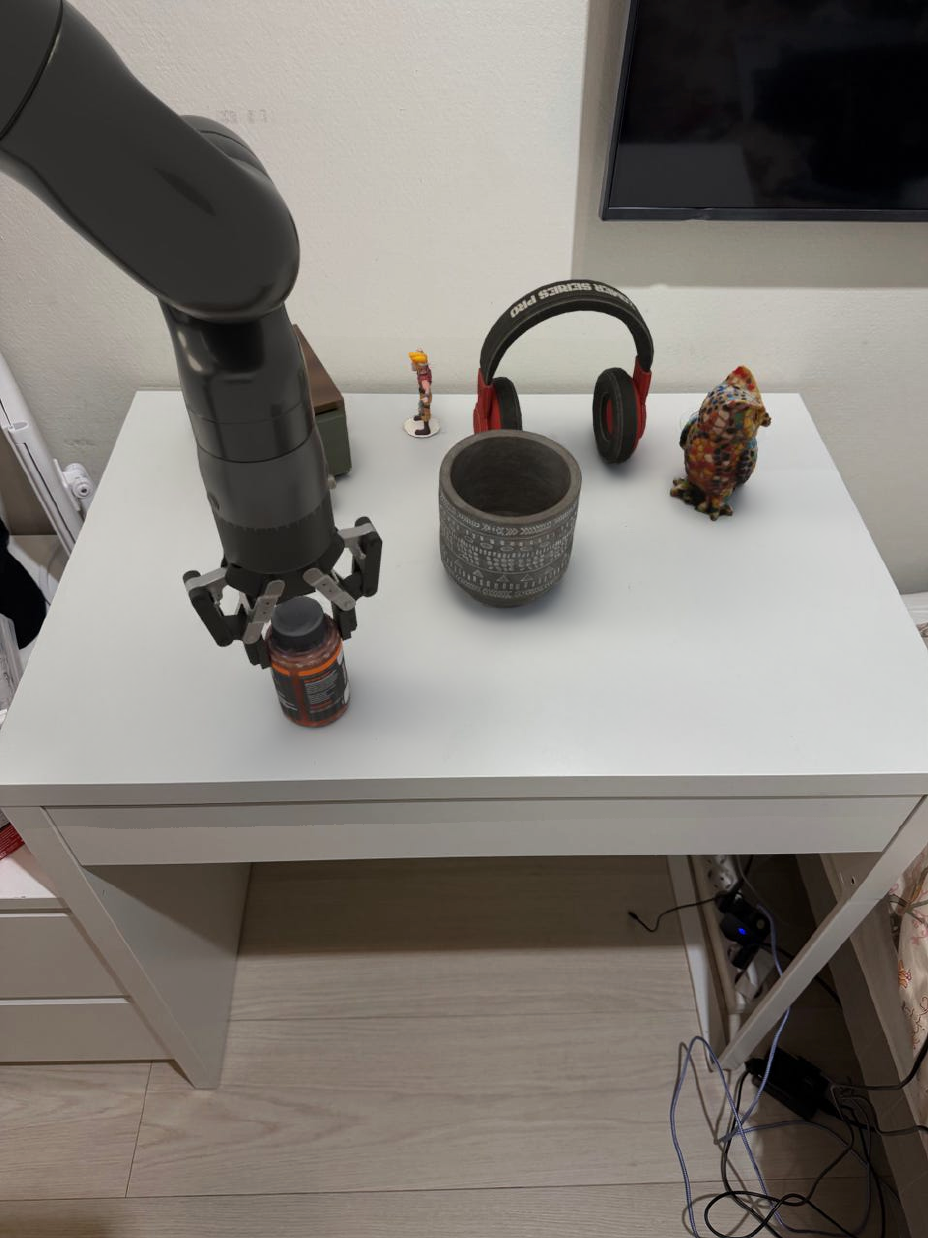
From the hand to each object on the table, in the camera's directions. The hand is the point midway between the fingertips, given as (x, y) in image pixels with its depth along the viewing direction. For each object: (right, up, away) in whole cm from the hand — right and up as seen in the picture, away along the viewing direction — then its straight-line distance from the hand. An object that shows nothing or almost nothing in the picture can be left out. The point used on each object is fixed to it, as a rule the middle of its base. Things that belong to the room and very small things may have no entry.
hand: (303, 645), depth 66 cm
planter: (+16, +6, +15) cm, 23 cm away
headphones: (+22, +19, +26) cm, 40 cm away
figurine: (+38, +15, +23) cm, 47 cm away
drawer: (-7, +19, +24) cm, 32 cm away
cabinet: (-8, +21, +27) cm, 36 cm away
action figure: (+8, +23, +29) cm, 38 cm away
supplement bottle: (0, -5, +6) cm, 8 cm away
